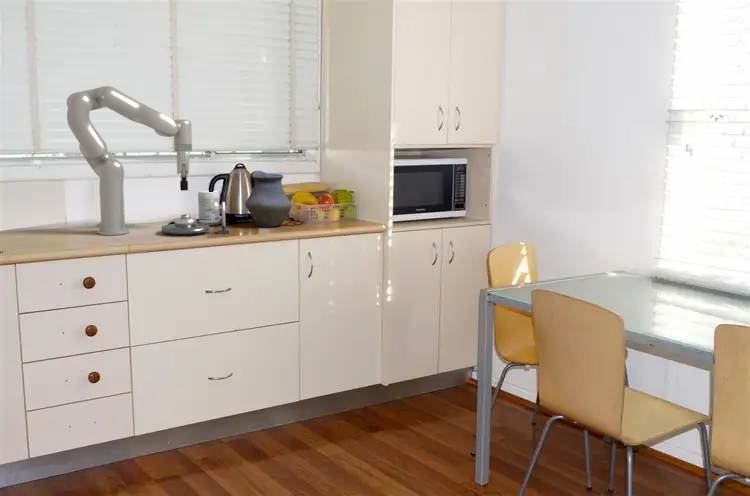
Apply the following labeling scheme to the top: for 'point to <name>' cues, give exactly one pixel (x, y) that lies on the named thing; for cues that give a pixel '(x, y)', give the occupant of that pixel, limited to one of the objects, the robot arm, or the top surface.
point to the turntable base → (186, 234)
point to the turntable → (185, 229)
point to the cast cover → (185, 221)
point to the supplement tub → (203, 202)
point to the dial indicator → (214, 207)
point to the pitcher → (267, 199)
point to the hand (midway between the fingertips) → (184, 190)
